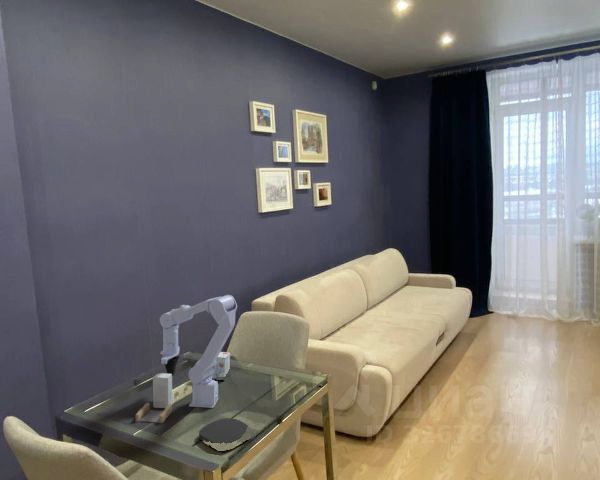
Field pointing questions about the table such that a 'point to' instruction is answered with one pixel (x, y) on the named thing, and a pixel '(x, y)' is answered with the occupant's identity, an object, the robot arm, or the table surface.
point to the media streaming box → (223, 431)
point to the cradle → (152, 414)
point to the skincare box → (162, 390)
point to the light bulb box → (222, 365)
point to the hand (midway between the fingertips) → (170, 374)
